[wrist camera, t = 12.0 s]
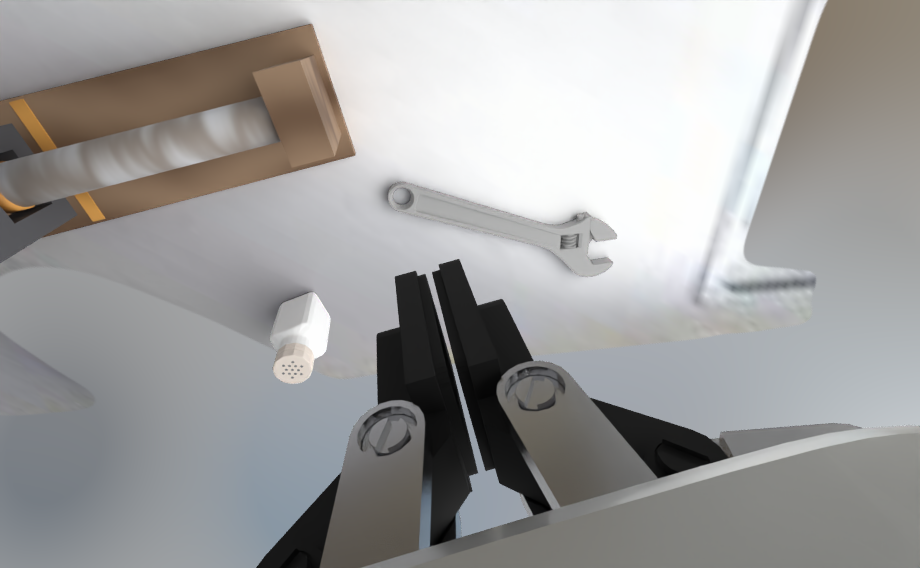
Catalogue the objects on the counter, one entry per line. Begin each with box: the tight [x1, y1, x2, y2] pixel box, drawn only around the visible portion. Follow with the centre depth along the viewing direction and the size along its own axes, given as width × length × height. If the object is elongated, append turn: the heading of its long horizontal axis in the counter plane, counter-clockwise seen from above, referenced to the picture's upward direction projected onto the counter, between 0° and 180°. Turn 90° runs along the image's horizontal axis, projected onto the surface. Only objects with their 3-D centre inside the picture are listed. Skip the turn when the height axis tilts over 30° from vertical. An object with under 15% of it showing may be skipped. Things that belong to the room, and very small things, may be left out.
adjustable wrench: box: [388, 182, 617, 277], centre depth 44 cm, size 25×6×2 cm, turn 66°
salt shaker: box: [270, 292, 330, 384], centre depth 42 cm, size 4×4×10 cm
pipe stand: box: [0, 24, 355, 238], centre depth 32 cm, size 10×32×9 cm, turn 102°
